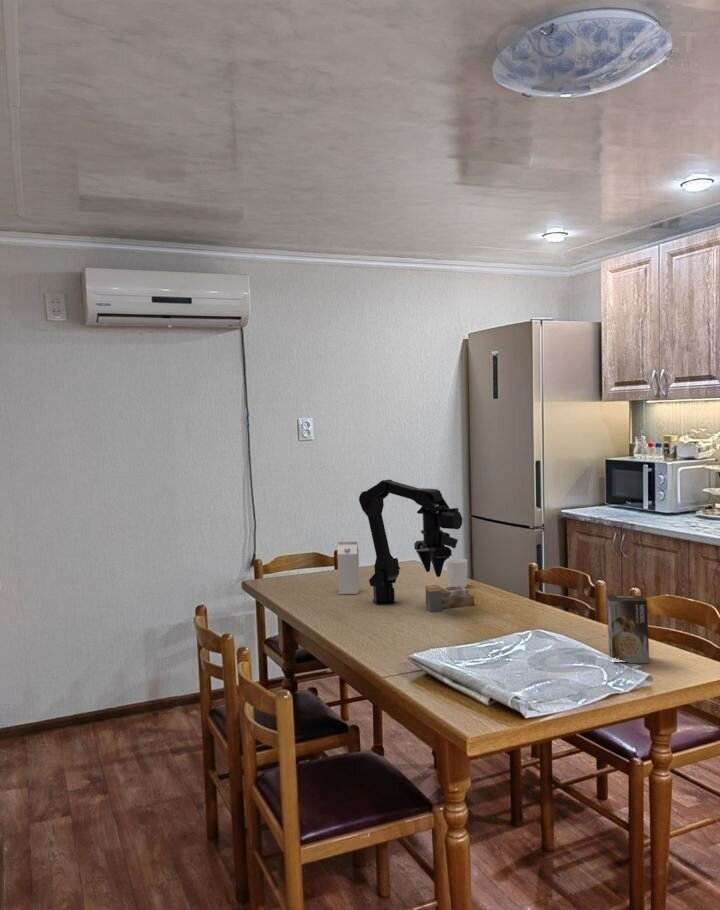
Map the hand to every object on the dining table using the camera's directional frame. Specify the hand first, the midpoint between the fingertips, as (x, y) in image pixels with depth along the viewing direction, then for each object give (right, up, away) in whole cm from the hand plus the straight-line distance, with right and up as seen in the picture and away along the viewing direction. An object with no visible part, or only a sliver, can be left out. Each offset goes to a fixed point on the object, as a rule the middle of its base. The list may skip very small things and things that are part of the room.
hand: (433, 574), depth 253 cm
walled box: (+7, -11, +9) cm, 16 cm away
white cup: (+13, -10, +34) cm, 38 cm away
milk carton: (-28, -12, +31) cm, 44 cm away
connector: (0, -12, 0) cm, 12 cm away
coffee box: (+45, -13, -57) cm, 74 cm away
